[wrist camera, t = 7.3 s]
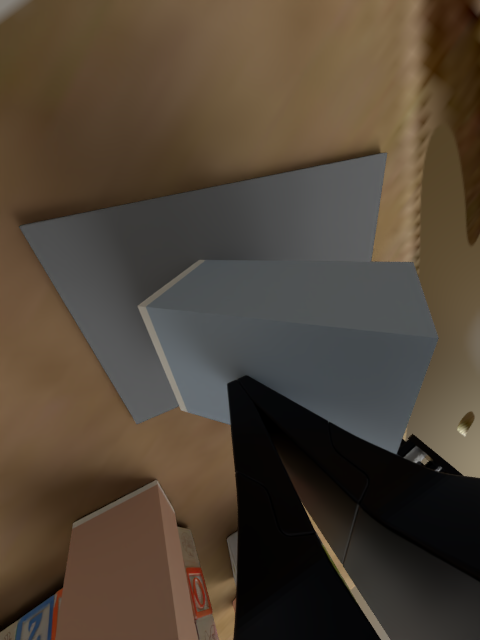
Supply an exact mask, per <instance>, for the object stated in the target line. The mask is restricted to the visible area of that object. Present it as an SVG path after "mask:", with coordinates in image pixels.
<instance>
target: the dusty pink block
mask: <svg viewBox="0 0 480 640" xmlns="http://www.w3.org/2000/svg"><path fill="white" fill-rule="evenodd" d="M55 640H198V638H197V633H196V627H195V622H194V616H193V611H192V605H191V600H190V594H189V588H188V583H187V577H186V572H185V566H184V561H183V555H182V550H181V544H180V539H179V533H178V528H177V522H176V517H175V511H174V509H173V507H172V505H171V504H170V502H169V500H168V498H167V496H166V495H165V493H164V491H163V489H162V488H161V486H160V484H159V482H158V481H157V480H155V481H153V482H151V483H149V484H147V485H145V486H143V487H142V488H140V489H138V490H136V491H134V492H132V493H130V494H128V495H126V496H124V497H122V498H120V499H118V500H116V501H115V502H113V503H111V504H109V505H107V506H105V507H103V508H101V509H99V510H97V511H95V512H93V513H91V514H90V515H88V516H86V517H84V518H82V519H80V520H78V521H76V522H74V523H73V527H72V533H71V540H70V546H69V553H68V559H67V565H66V572H65V578H64V585H63V591H62V598H61V604H60V611H59V617H58V624H57V630H56V637H55Z"/></svg>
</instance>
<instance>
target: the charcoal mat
mask: <svg viewBox="0 0 480 640" xmlns="http://www.w3.org/2000/svg"><path fill="white" fill-rule="evenodd" d="M386 158H387V153H379V154H374V155H369V156H364V157H359V158H354V159H349V160H344V161H339V162H334V163H329V164H324V165H319V166H314V167H309V168H304V169H299V170H294V171H289V172H284V173H279V174H274V175H269V176H264V177H259V178H254V179H249V180H244V181H239V182H234V183H229V184H224V185H219V186H214V187H209V188H204V189H199V190H194V191H189V192H184V193H179V194H174V195H169V196H164V197H159V198H154V199H149V200H144V201H139V202H134V203H129V204H124V205H119V206H114V207H109V208H104V209H99V210H94V211H89V212H84V213H79V214H74V215H69V216H64V217H59V218H54V219H49V220H44V221H39V222H34V223H29V224H24V225H21V226H19V228H20V229H21V231H22V233H23V234H24V236H25V238H26V239H27V241H28V243H29V244H30V246H31V248H32V249H33V251H34V253H35V254H36V256H37V258H38V259H39V261H40V263H41V264H42V266H43V268H44V269H45V271H46V273H47V275H48V276H49V278H50V280H51V281H52V283H53V285H54V286H55V288H56V290H57V291H58V293H59V295H60V296H61V298H62V300H63V301H64V303H65V305H66V306H67V308H68V310H69V311H70V313H71V315H72V316H73V318H74V320H75V321H76V323H77V325H78V326H79V328H80V330H81V331H82V333H83V335H84V337H85V338H86V340H87V342H88V343H89V345H90V347H91V348H92V350H93V352H94V353H95V355H96V357H97V358H98V360H99V362H100V363H101V365H102V367H103V368H104V370H105V372H106V373H107V375H108V377H109V378H110V380H111V382H112V383H113V385H114V387H115V388H116V390H117V392H118V394H119V395H120V397H121V399H122V400H123V402H124V404H125V405H126V407H127V409H128V410H129V412H130V414H131V415H132V417H133V419H134V420H135V422H136V424H139V423H141V422H144V421H146V420H148V419H151V418H153V417H155V416H158V415H160V414H162V413H164V412H167V411H169V410H171V409H174V408H176V407H178V406H179V404H178V402H177V399H176V397H175V395H174V392H173V390H172V387H171V385H170V383H169V380H168V378H167V376H166V373H165V371H164V368H163V366H162V364H161V361H160V359H159V356H158V354H157V352H156V349H155V347H154V345H153V342H152V340H151V337H150V335H149V333H148V330H147V328H146V325H145V323H144V321H143V318H142V316H141V314H140V311H139V309H138V305H139V304H141V303H142V302H143V301H145V300H146V299H147V298H149V297H150V296H151V295H153V294H154V293H155V292H157V291H158V290H159V289H161V288H162V287H163V286H165V285H166V284H167V283H169V282H170V281H171V280H173V279H174V278H175V277H177V276H178V275H179V274H181V273H182V272H183V271H185V270H186V269H188V268H189V267H190V266H192V265H193V264H194V263H196V262H197V261H198V260H259V261H352V262H371V259H372V252H373V245H374V239H375V232H376V225H377V218H378V212H379V205H380V198H381V191H382V185H383V178H384V171H385V164H386Z"/></svg>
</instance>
